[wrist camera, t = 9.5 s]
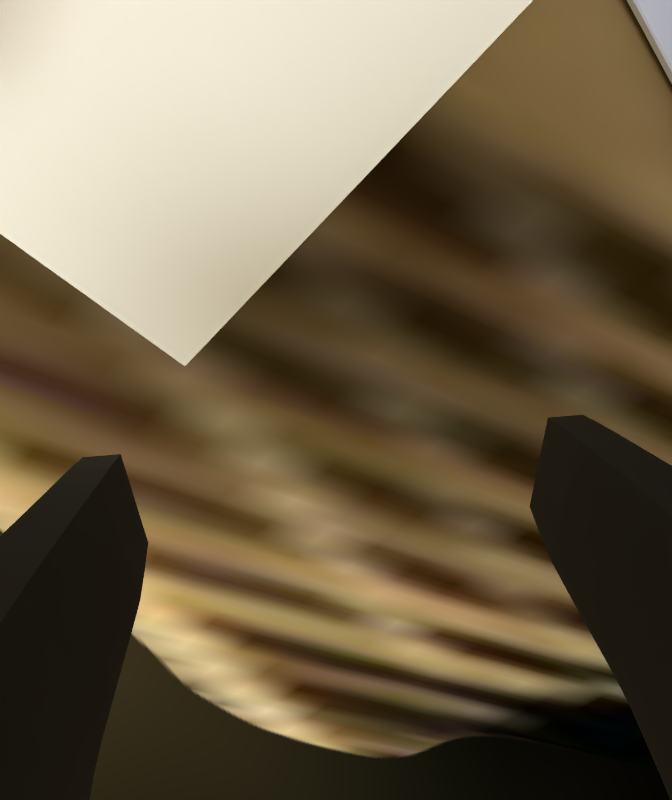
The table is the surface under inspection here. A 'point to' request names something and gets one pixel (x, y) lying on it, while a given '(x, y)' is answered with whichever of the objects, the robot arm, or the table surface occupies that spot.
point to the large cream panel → (207, 136)
